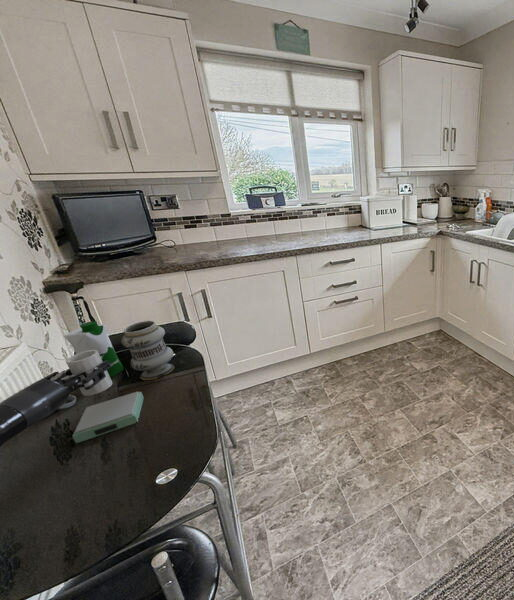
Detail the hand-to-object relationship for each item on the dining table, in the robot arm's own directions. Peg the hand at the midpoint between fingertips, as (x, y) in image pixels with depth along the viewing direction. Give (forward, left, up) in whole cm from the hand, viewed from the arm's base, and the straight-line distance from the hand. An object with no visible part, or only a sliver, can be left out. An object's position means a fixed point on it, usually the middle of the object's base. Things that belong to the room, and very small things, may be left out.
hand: (95, 364), depth 88 cm
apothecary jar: (+8, +21, -17) cm, 28 cm away
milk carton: (-8, +31, -17) cm, 36 cm away
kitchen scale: (-1, -1, -17) cm, 17 cm away
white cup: (-1, -2, -6) cm, 6 cm away
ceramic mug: (-18, +16, -17) cm, 29 cm away
